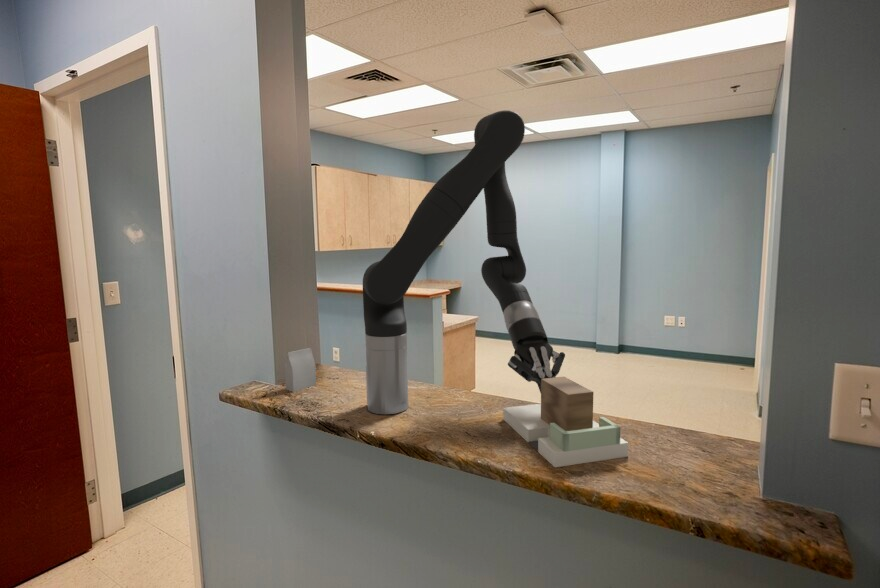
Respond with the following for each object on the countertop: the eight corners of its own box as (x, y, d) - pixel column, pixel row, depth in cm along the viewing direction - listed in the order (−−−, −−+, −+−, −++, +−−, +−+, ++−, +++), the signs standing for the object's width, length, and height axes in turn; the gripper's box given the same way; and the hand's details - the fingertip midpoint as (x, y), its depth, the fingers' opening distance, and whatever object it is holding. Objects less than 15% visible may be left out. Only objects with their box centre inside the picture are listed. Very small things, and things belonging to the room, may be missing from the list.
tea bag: (316, 386, 123) (314, 348, 122) (293, 392, 118) (291, 353, 117) (308, 383, 125) (306, 347, 124) (285, 389, 120) (283, 351, 119)
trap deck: (503, 419, 98) (503, 394, 97) (563, 412, 102) (563, 387, 101) (554, 467, 77) (555, 435, 76) (628, 456, 80) (629, 425, 80)
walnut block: (540, 418, 92) (541, 378, 91) (563, 415, 93) (564, 376, 92) (567, 438, 82) (568, 394, 81) (592, 435, 83) (593, 391, 83)
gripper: (501, 317, 98) (526, 391, 88) (557, 314, 102) (588, 385, 91) (491, 337, 104) (514, 409, 94) (545, 333, 107) (572, 402, 97)
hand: (550, 397), depth 92 cm, fingers closed
